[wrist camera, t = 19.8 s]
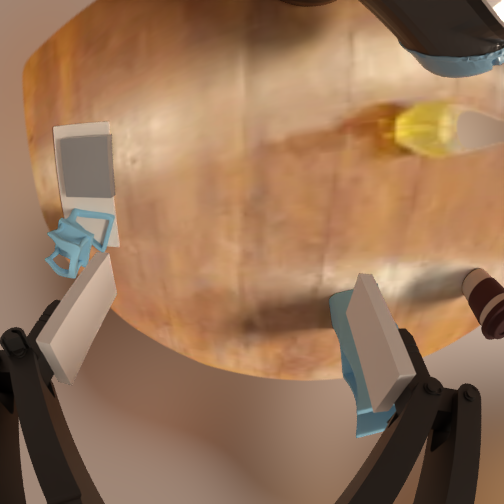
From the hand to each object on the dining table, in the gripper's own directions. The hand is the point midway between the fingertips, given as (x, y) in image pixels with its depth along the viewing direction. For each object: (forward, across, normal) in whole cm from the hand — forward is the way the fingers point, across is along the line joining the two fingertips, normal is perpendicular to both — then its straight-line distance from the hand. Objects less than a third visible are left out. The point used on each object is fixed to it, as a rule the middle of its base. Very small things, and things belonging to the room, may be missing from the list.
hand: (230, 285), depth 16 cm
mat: (+32, -27, -7) cm, 42 cm away
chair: (+31, -27, -14) cm, 44 cm away
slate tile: (+30, -21, -3) cm, 37 cm away
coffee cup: (+32, +51, -20) cm, 63 cm away
